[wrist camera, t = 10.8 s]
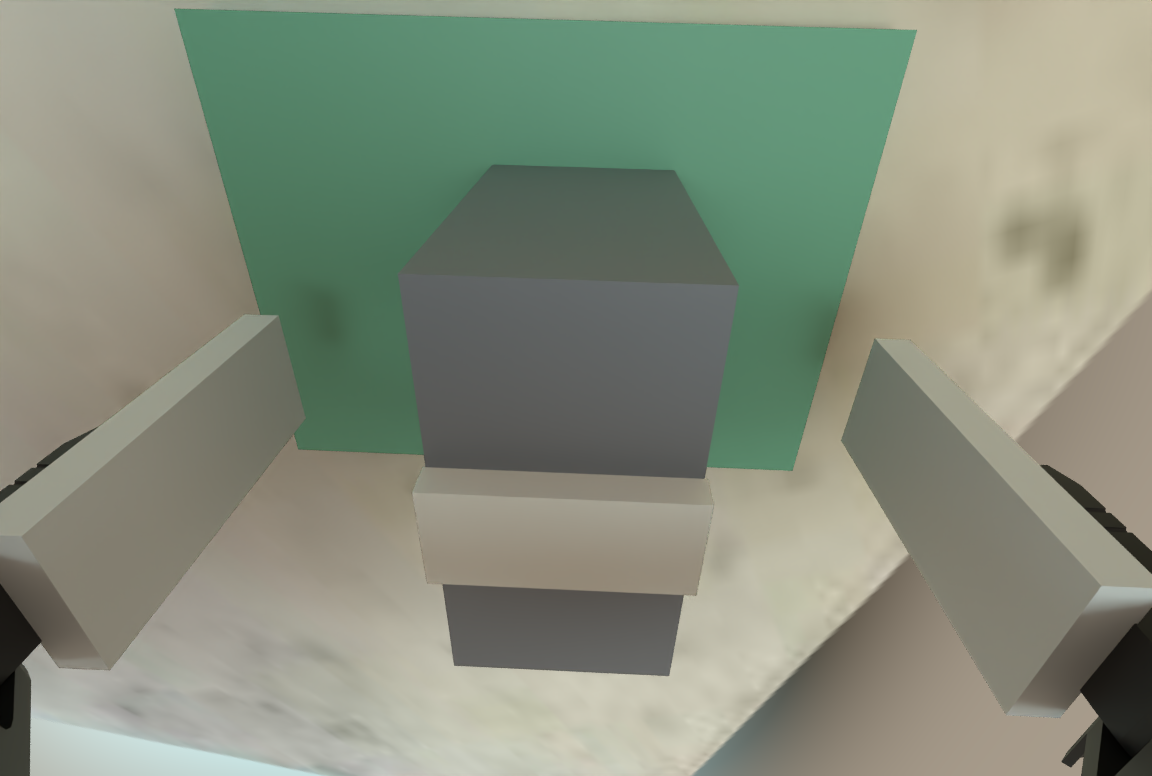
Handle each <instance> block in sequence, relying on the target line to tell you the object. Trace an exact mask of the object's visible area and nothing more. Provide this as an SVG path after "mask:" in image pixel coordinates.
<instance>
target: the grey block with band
mask: <svg viewBox="0 0 1152 776" xmlns="http://www.w3.org/2000/svg"><path fill="white" fill-rule="evenodd" d="M398 279H399V285H400V292H401V299H402V306H403V313H404V320H405V327H406V334H407V341H408V348H409V355H410V362H411V369H412V376H413V383H414V390H415V396H416V403H417V410H418V417H419V424H420V431H421V438H422V445H423V452H424V459H425V466H426V467H422V470H421V472H420V474H419V477H418V479H417V482H416V484H415V486H414V489H413V491H412V496H413V502H414V508H415V514H416V520H417V526H418V533H419V539H420V545H421V551H422V557H423V563H424V569H425V575H426V581H427V583H430V584H443V591H444V598H445V605H446V611H447V618H448V625H449V632H450V639H451V646H452V653H453V660H454V666H473V667H494V668H514V669H535V670H555V671H576V672H596V673H617V674H637V675H658V676H669V674H670V668H671V663H672V657H673V652H674V646H675V641H676V635H677V629H678V624H679V618H680V613H681V607H682V602H683V596H684V595H692V596H696V595H697V590H698V585H699V580H700V575H701V570H702V565H703V560H704V554H705V549H706V544H707V539H708V534H709V529H710V524H711V519H712V514H713V509H714V503H713V499H712V495H711V490H710V486H709V482H708V479H705V473H706V468H707V462H708V457H709V451H710V445H711V440H712V434H713V429H714V423H715V418H716V412H717V406H718V401H719V395H720V390H721V384H722V379H723V373H724V367H725V362H726V356H727V351H728V345H729V340H730V334H731V328H732V323H733V317H734V312H735V306H736V301H737V295H738V289H739V284H738V283H737V281H736V279H735V277H734V276H733V274H732V272H731V270H730V268H729V267H728V265H727V263H726V261H725V260H724V258H723V256H722V254H721V252H720V251H719V249H718V247H717V245H716V243H715V242H714V240H713V238H712V236H711V235H710V233H709V231H708V229H707V227H706V226H705V224H704V222H703V220H702V218H701V217H700V215H699V213H698V211H697V210H696V208H695V206H694V204H693V202H692V201H691V199H690V197H689V195H688V194H687V192H686V190H685V188H684V186H683V185H682V183H681V181H680V179H679V177H678V176H677V174H676V172H675V170H652V169H620V168H587V167H555V166H523V165H492V166H491V167H490V168H489V169H488V170H487V171H486V173H485V174H484V175H483V176H482V177H481V178H480V180H479V181H478V182H477V183H476V184H475V185H474V186H473V188H472V189H471V190H470V191H469V192H468V193H467V195H466V196H465V197H464V198H463V199H462V200H461V201H460V203H459V204H458V205H457V206H456V207H455V208H454V210H453V211H452V212H451V213H450V214H449V215H448V216H447V218H446V219H445V220H444V221H443V222H442V223H441V224H440V226H439V227H438V228H437V229H436V230H435V231H434V233H433V234H432V235H431V236H430V237H429V238H428V239H427V241H426V242H425V243H424V244H423V245H422V246H421V248H420V249H419V250H418V251H417V252H416V253H415V254H414V256H413V257H412V258H411V259H410V260H409V261H408V263H407V264H406V265H405V266H404V267H403V268H402V269H401V271H400V272H399V273H398Z"/></svg>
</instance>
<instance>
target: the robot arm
mask: <svg viewBox="0 0 1152 776" xmlns="http://www.w3.org/2000/svg"><path fill="white" fill-rule="evenodd" d="M305 419H306V417H305V414H304V410H303V406H302V402H301V398H300V395H299V391H298V387H297V383H296V380H295V376H294V372H293V368H292V364H291V361H290V357H289V353H288V349H287V346H286V342H285V338H284V334H283V330H282V327H281V323H280V319H279V316H278V315H252V314H244V315H243V316H241V317H240V318H239V319H238V320H236V321H235V322H234V323H232V324H231V325H230V326H229V327H227V328H226V329H225V330H223V331H222V332H221V333H220V334H218V335H217V336H216V337H214V338H213V339H212V340H210V341H209V342H208V343H207V344H205V345H204V346H203V347H201V348H200V349H199V350H198V351H196V352H195V353H194V354H192V355H191V356H190V357H188V358H187V359H186V360H185V361H183V362H182V363H181V364H179V365H178V366H177V367H176V368H174V369H173V370H172V371H170V372H169V373H168V374H166V375H165V376H164V377H163V378H161V379H160V380H159V381H157V382H156V383H155V384H154V385H152V386H151V387H150V388H148V389H147V390H146V391H144V392H143V393H142V394H141V395H139V396H138V397H137V398H135V399H134V400H133V401H132V402H130V403H129V404H128V405H126V406H125V407H124V408H122V409H121V410H120V411H119V412H117V413H116V414H115V415H113V416H112V417H111V418H110V419H108V420H107V421H106V422H104V423H103V424H102V425H100V426H99V427H97V428H95V429H93V430H91V431H89V432H87V433H85V434H83V435H81V436H78V437H76V438H74V439H72V440H70V441H68V442H66V443H64V444H63V445H61V446H60V447H59V448H57V449H56V450H55V451H53V452H52V453H51V454H49V455H48V456H47V457H45V458H44V459H43V460H41V461H40V462H39V463H38V464H37V468H31V469H30V470H28V471H27V472H26V473H24V474H23V475H22V476H20V477H19V478H18V479H16V480H15V484H14V485H8V486H7V487H6V488H4V489H3V490H2V491H0V776H30V717H31V679H30V676H29V674H28V671H27V669H26V668H25V667H24V665H23V664H22V662H23V661H24V660H25V659H26V658H27V657H28V656H29V654H30V653H31V652H32V651H33V650H34V649H35V648H36V647H37V646H38V645H39V644H40V643H41V644H42V645H43V647H44V648H45V649H46V651H47V652H48V654H49V655H50V656H51V658H52V659H53V660H54V662H55V663H56V664H57V666H58V667H59V668H72V669H92V670H110V669H111V668H112V667H113V666H114V664H115V663H116V662H117V660H118V659H119V658H120V657H121V655H122V654H123V653H124V651H125V650H126V649H127V648H128V646H129V645H130V644H131V642H132V641H133V640H134V639H135V637H136V636H137V635H138V633H139V632H140V631H141V630H142V628H143V627H144V626H145V624H146V623H147V622H148V621H149V619H150V618H151V617H152V615H153V614H154V613H155V612H156V610H157V609H158V608H159V606H160V605H161V604H162V603H163V601H164V600H165V599H166V597H167V596H168V595H169V594H170V592H171V591H172V590H173V588H174V587H175V586H176V585H177V583H178V582H179V581H180V579H181V578H182V577H183V576H184V574H185V573H186V572H187V570H188V569H189V568H190V567H191V565H192V564H193V563H194V561H195V560H196V559H197V558H198V556H199V555H200V554H201V552H202V551H203V550H204V549H205V547H206V546H207V545H208V543H209V542H210V541H211V540H212V538H213V537H214V536H215V534H216V533H217V532H218V531H219V529H220V528H221V527H222V525H223V524H224V523H225V521H226V520H227V519H228V518H229V516H230V515H231V514H232V512H233V511H234V510H235V509H236V507H237V506H238V505H239V503H240V502H241V501H242V500H243V498H244V497H245V496H246V494H247V493H248V492H249V491H250V489H251V488H252V487H253V485H254V484H255V483H256V482H257V480H258V479H259V478H260V476H261V475H262V474H263V473H264V471H265V470H266V469H267V467H268V466H269V465H270V464H271V462H272V461H273V460H274V458H275V457H276V456H277V455H278V453H279V452H280V451H281V449H282V448H283V447H284V446H285V444H286V443H287V442H288V440H289V439H290V438H291V437H292V435H293V434H294V433H295V431H296V430H297V429H298V428H299V426H300V425H301V424H302V422H303V421H304V420H305ZM841 441H842V443H843V444H844V446H845V448H846V449H847V451H848V453H849V454H850V456H851V458H852V459H853V461H854V463H855V464H856V466H857V468H858V469H859V471H860V473H861V474H862V476H863V478H864V479H865V481H866V483H867V484H868V486H869V488H870V489H871V491H872V493H873V494H874V496H875V498H876V499H877V501H878V503H879V504H880V506H881V508H882V509H883V511H884V513H885V514H886V516H887V518H888V519H889V521H890V523H891V524H892V526H893V528H894V529H895V531H896V533H897V534H898V536H899V538H900V539H901V541H902V543H903V544H904V546H905V548H906V549H907V551H908V553H909V554H910V556H911V558H912V559H913V560H914V562H915V564H916V566H917V567H918V569H919V571H920V572H921V574H922V576H923V578H924V579H925V581H926V582H927V584H928V586H929V587H930V589H931V591H932V593H933V594H934V596H935V597H936V599H937V601H938V603H939V604H940V606H941V608H942V609H943V611H944V613H945V614H946V616H947V617H948V619H949V621H950V623H951V624H952V626H953V627H954V629H955V631H956V633H957V634H958V636H959V638H960V639H961V641H962V643H963V644H964V646H965V647H966V649H967V651H968V652H969V654H970V656H971V658H972V659H973V661H974V663H975V664H976V666H977V667H978V669H979V671H980V672H981V674H982V676H983V678H984V679H985V681H986V683H987V684H988V686H989V688H990V689H991V691H992V692H993V694H994V696H995V698H996V699H997V701H998V702H999V704H1000V706H1001V707H1002V709H1003V711H1004V713H1005V714H1006V715H1013V716H1033V717H1053V718H1060V717H1061V716H1062V715H1063V714H1064V712H1065V711H1066V710H1067V709H1068V708H1069V706H1070V705H1071V704H1072V702H1074V700H1075V699H1076V698H1077V697H1078V695H1079V694H1080V693H1082V694H1083V695H1084V697H1085V698H1086V699H1087V701H1088V702H1089V703H1090V705H1091V706H1092V708H1093V709H1094V710H1095V712H1096V713H1097V714H1098V715H1099V717H1098V718H1097V719H1096V720H1095V721H1094V722H1093V723H1092V725H1091V726H1090V727H1089V728H1088V729H1087V730H1086V731H1085V732H1084V734H1083V735H1082V736H1081V737H1080V738H1079V739H1078V740H1077V742H1076V743H1075V744H1074V745H1073V746H1072V747H1071V748H1070V749H1069V750H1068V752H1067V753H1066V755H1065V757H1064V758H1063V760H1062V763H1064V764H1066V765H1067V766H1069V767H1072V765H1074V764H1075V763H1076V761H1077V760H1078V759H1079V758H1081V757H1084V759H1083V766H1082V774H1081V776H1152V551H1151V550H1150V549H1149V548H1148V547H1146V545H1145V544H1143V543H1142V542H1141V541H1140V540H1139V539H1138V538H1137V537H1136V536H1135V535H1134V534H1133V533H1128V532H1127V531H1126V527H1125V526H1124V525H1123V524H1122V523H1121V522H1120V521H1119V520H1118V519H1117V518H1115V517H1114V516H1113V515H1112V514H1111V513H1106V512H1105V507H1104V506H1103V505H1101V504H1100V503H1099V502H1098V501H1097V500H1096V499H1095V498H1094V497H1093V496H1092V495H1091V494H1090V493H1089V492H1088V491H1086V490H1085V489H1084V488H1083V487H1082V486H1081V485H1079V484H1078V483H1076V482H1075V481H1073V480H1071V479H1070V478H1068V477H1066V476H1065V475H1063V474H1061V473H1060V472H1058V471H1056V470H1055V469H1053V468H1051V467H1050V466H1048V465H1039V464H1038V463H1037V462H1035V460H1034V459H1033V458H1031V457H1030V456H1029V455H1028V454H1027V453H1026V452H1025V451H1024V450H1023V449H1022V448H1021V447H1020V446H1019V445H1018V444H1017V443H1016V442H1015V441H1014V440H1013V439H1012V438H1011V437H1010V436H1009V435H1008V434H1007V433H1006V432H1005V431H1004V430H1003V429H1002V428H1001V427H1000V426H999V425H998V424H996V423H995V422H994V421H993V420H992V419H991V418H990V417H989V416H988V415H987V414H986V413H985V412H984V411H983V410H982V409H981V408H980V407H979V406H978V405H977V404H976V403H975V402H974V401H973V400H972V399H971V398H970V397H969V396H968V395H967V394H966V393H965V392H964V391H962V390H961V389H960V388H959V387H958V386H957V385H956V384H955V383H954V382H953V381H952V380H951V379H950V378H949V377H948V376H947V375H946V374H945V373H944V372H943V371H942V370H941V369H940V368H939V367H938V366H937V365H936V364H935V363H934V362H933V361H932V360H931V359H930V358H928V357H927V356H926V355H925V354H924V353H923V352H922V351H921V350H920V349H919V348H918V347H917V346H916V345H915V344H914V343H913V342H912V341H911V340H901V339H874V343H873V346H872V349H871V352H870V355H869V358H868V361H867V364H866V367H865V370H864V373H863V376H862V379H861V382H860V385H859V388H858V391H857V394H856V397H855V400H854V403H853V407H852V410H851V413H850V416H849V419H848V422H847V425H846V428H845V431H844V434H843V437H842V440H841Z"/></svg>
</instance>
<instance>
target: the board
mask: <svg viewBox="0 0 1152 776" xmlns="http://www.w3.org/2000/svg"><path fill="white" fill-rule="evenodd" d="M174 10H175V13H176V17H177V20H178V24H179V27H180V31H181V34H182V38H183V41H184V45H185V49H186V52H187V56H188V59H189V63H190V66H191V70H192V73H193V77H194V80H195V84H196V88H197V91H198V95H199V98H200V102H201V105H202V109H203V112H204V116H205V120H206V123H207V127H208V130H209V134H210V137H211V141H212V144H213V148H214V151H215V155H216V159H217V162H218V166H219V169H220V173H221V176H222V180H223V183H224V187H225V190H226V194H227V198H228V201H229V205H230V208H231V212H232V215H233V219H234V222H235V226H236V230H237V233H238V237H239V240H240V244H241V247H242V251H243V254H244V258H245V261H246V265H247V269H248V272H249V276H250V279H251V283H252V286H253V290H254V293H255V297H256V301H257V304H258V308H259V311H260V315H278V316H279V319H280V323H281V327H282V330H283V334H284V338H285V342H286V346H287V349H288V353H289V357H290V361H291V364H292V368H293V372H294V376H295V380H296V383H297V387H298V391H299V395H300V398H301V402H302V406H303V410H304V414H305V417H306V419H305V420H304V421H303V422H302V424H301V425H300V426H299V428H298V429H297V430H296V431H295V433H294V435H295V439H296V442H297V446H298V449H302V450H325V451H348V452H371V453H394V454H417V455H424V452H423V445H422V438H421V431H420V424H419V417H418V410H417V403H416V396H415V390H414V383H413V376H412V369H411V362H410V355H409V348H408V341H407V334H406V327H405V320H404V313H403V306H402V299H401V292H400V285H399V279H398V273H399V272H400V271H401V269H402V268H403V267H404V266H405V265H406V264H407V263H408V261H409V260H410V259H411V258H412V257H413V256H414V254H415V253H416V252H417V251H418V250H419V249H420V248H421V246H422V245H423V244H424V243H425V242H426V241H427V239H428V238H429V237H430V236H431V235H432V234H433V233H434V231H435V230H436V229H437V228H438V227H439V226H440V224H441V223H442V222H443V221H444V220H445V219H446V218H447V216H448V215H449V214H450V213H451V212H452V211H453V210H454V208H455V207H456V206H457V205H458V204H459V203H460V201H461V200H462V199H463V198H464V197H465V196H466V195H467V193H468V192H469V191H470V190H471V189H472V188H473V186H474V185H475V184H476V183H477V182H478V181H479V180H480V178H481V177H482V176H483V175H484V174H485V173H486V171H487V170H488V169H489V168H490V167H491V166H492V165H523V166H555V167H587V168H620V169H652V170H675V172H676V174H677V176H678V177H679V179H680V181H681V183H682V185H683V186H684V188H685V190H686V192H687V194H688V195H689V197H690V199H691V201H692V202H693V204H694V206H695V208H696V210H697V211H698V213H699V215H700V217H701V218H702V220H703V222H704V224H705V226H706V227H707V229H708V231H709V233H710V235H711V236H712V238H713V240H714V242H715V243H716V245H717V247H718V249H719V251H720V252H721V254H722V256H723V258H724V260H725V261H726V263H727V265H728V267H729V268H730V270H731V272H732V274H733V276H734V277H735V279H736V281H737V283H738V284H739V289H738V295H737V301H736V306H735V312H734V317H733V323H732V328H731V334H730V340H729V345H728V351H727V356H726V362H725V367H724V373H723V379H722V384H721V390H720V395H719V401H718V406H717V412H716V418H715V423H714V429H713V434H712V440H711V445H710V451H709V457H708V462H707V467H717V468H741V469H764V470H787V471H793V467H794V463H795V460H796V456H797V453H798V449H799V446H800V442H801V439H802V435H803V432H804V428H805V425H806V421H807V418H808V414H809V410H810V407H811V403H812V400H813V396H814V393H815V389H816V386H817V382H818V379H819V375H820V372H821V368H822V364H823V361H824V357H825V354H826V350H827V347H828V343H829V340H830V336H831V333H832V329H833V326H834V322H835V318H836V315H837V311H838V308H839V304H840V301H841V297H842V294H843V290H844V287H845V283H846V280H847V276H848V272H849V269H850V265H851V262H852V258H853V255H854V251H855V248H856V244H857V241H858V237H859V234H860V230H861V226H862V223H863V219H864V216H865V212H866V209H867V205H868V202H869V198H870V195H871V191H872V188H873V184H874V181H875V177H876V173H877V170H878V166H879V163H880V159H881V156H882V152H883V149H884V145H885V142H886V138H887V135H888V131H889V127H890V124H891V120H892V117H893V113H894V110H895V106H896V103H897V99H898V96H899V92H900V89H901V85H902V81H903V78H904V74H905V71H906V67H907V64H908V60H909V57H910V53H911V50H912V46H913V43H914V39H915V35H916V32H917V30H895V29H860V28H825V27H791V26H756V25H722V24H687V23H652V22H618V21H583V20H549V19H514V18H479V17H445V16H410V15H376V14H341V13H306V12H272V11H237V10H203V9H174Z"/></svg>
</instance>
